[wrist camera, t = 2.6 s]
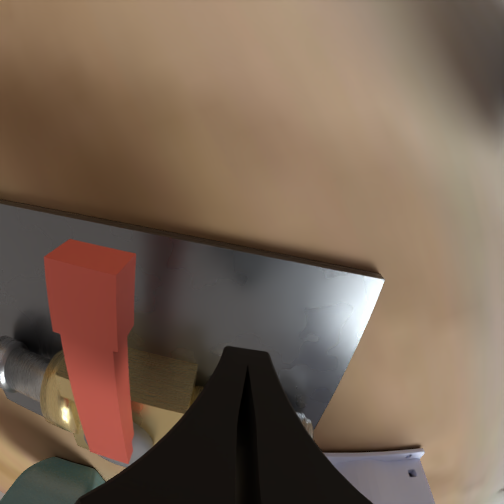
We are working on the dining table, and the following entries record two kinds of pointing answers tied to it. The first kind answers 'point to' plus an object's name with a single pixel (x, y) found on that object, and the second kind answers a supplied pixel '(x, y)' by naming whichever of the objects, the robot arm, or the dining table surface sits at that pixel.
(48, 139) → the dining table surface
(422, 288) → the dining table surface
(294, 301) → the valve body
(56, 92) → the dining table surface
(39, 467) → the flower pot
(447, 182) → the dining table surface
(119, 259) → the lever
